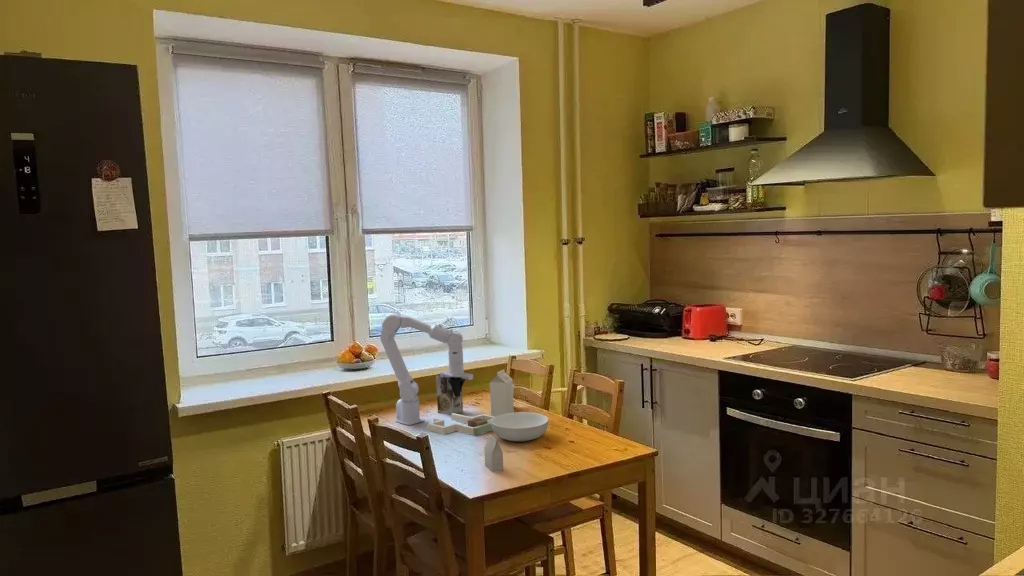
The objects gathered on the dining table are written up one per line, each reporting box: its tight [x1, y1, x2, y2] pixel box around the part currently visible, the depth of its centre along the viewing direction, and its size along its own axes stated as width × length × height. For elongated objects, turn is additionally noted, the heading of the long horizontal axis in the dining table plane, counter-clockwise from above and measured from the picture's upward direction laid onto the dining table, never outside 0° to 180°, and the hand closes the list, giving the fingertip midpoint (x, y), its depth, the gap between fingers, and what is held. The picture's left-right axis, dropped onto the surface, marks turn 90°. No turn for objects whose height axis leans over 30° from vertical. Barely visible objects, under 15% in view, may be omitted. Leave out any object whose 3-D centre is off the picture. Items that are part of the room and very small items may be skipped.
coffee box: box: [435, 373, 464, 415], centre depth 296 cm, size 9×6×16 cm
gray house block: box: [483, 434, 504, 473], centre depth 224 cm, size 4×7×10 cm, turn 22°
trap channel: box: [426, 413, 494, 437], centre depth 273 cm, size 24×23×3 cm
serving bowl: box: [491, 411, 550, 443], centre depth 256 cm, size 21×21×7 cm
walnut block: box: [467, 418, 487, 427], centre depth 268 cm, size 6×4×4 cm
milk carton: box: [489, 369, 515, 417], centre depth 285 cm, size 7×7×19 cm
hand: (457, 396), depth 282 cm, fingers closed
